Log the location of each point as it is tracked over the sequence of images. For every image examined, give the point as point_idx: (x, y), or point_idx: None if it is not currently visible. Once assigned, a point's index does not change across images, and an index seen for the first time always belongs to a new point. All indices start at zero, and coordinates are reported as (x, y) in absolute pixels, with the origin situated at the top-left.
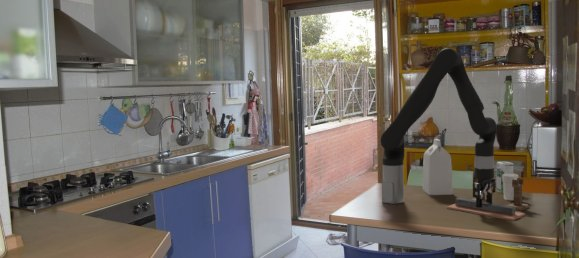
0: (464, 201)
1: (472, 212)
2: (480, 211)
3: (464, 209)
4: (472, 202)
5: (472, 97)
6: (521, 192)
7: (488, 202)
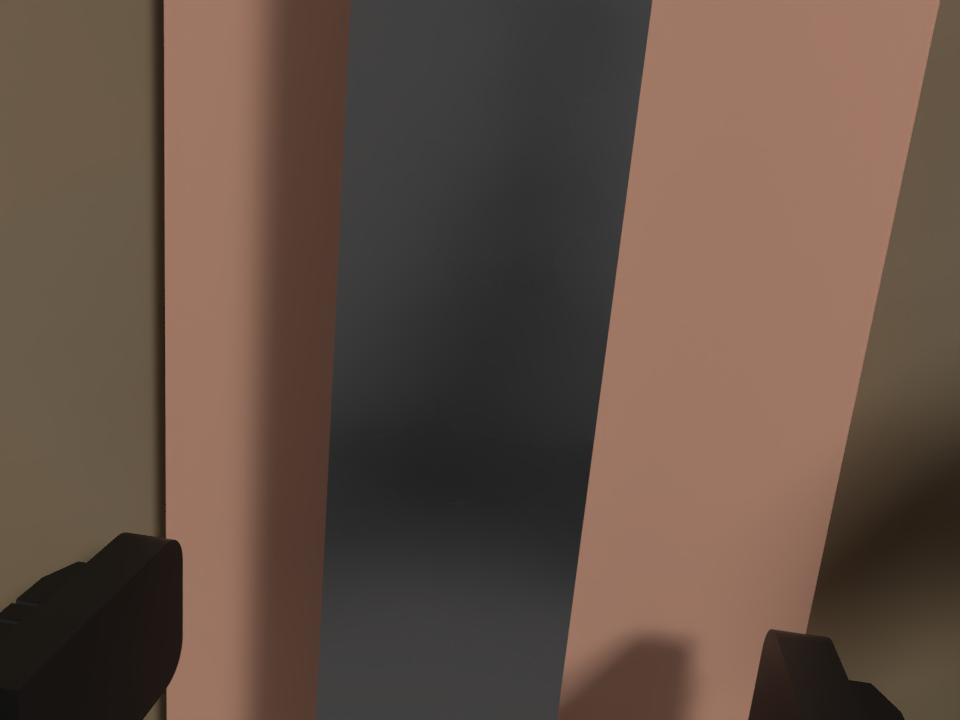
0: (365, 12)
1: (179, 377)
2: (269, 551)
3: (188, 140)
4: (344, 339)
5: None
6: None
7: (763, 702)
